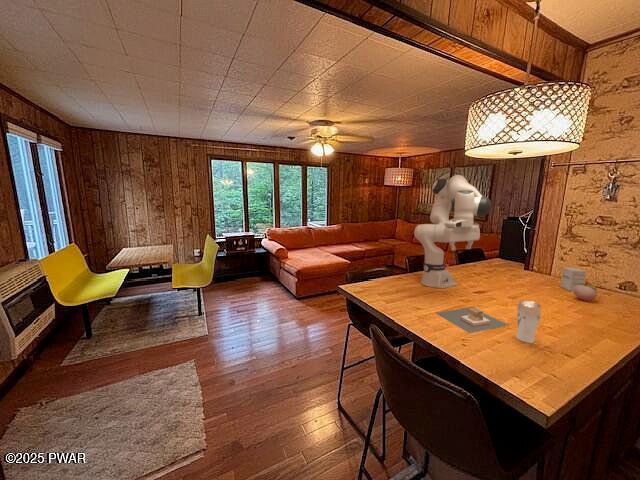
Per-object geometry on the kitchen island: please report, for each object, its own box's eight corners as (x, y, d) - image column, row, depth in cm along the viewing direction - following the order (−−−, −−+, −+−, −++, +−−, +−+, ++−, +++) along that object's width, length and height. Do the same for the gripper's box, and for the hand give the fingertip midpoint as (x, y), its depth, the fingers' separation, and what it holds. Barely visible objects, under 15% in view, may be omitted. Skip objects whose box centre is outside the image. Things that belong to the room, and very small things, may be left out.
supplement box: (559, 286, 162) (562, 267, 160) (573, 287, 161) (576, 267, 159) (569, 290, 155) (572, 270, 153) (583, 291, 153) (586, 270, 151)
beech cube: (475, 315, 118) (475, 307, 117) (482, 319, 114) (483, 311, 113) (468, 317, 117) (468, 308, 116) (475, 321, 113) (476, 312, 112)
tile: (476, 313, 120) (461, 316, 117) (490, 320, 113) (474, 323, 111) (476, 317, 120) (460, 319, 118) (489, 323, 114) (473, 326, 111)
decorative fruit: (598, 301, 138) (601, 283, 137) (593, 305, 134) (596, 286, 132) (574, 296, 146) (577, 279, 145) (569, 299, 142) (572, 281, 140)
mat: (470, 308, 131) (470, 307, 131) (509, 326, 112) (509, 325, 112) (434, 314, 125) (434, 312, 125) (469, 334, 106) (469, 333, 106)
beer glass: (511, 334, 106) (515, 299, 104) (532, 337, 103) (537, 301, 101) (517, 342, 100) (521, 306, 97) (539, 346, 97) (544, 308, 95)
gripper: (473, 221, 137) (471, 247, 139) (442, 222, 131) (440, 249, 133) (484, 222, 131) (481, 249, 133) (451, 224, 125) (449, 252, 127)
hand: (460, 249), depth 133 cm, fingers open, 8 cm apart
